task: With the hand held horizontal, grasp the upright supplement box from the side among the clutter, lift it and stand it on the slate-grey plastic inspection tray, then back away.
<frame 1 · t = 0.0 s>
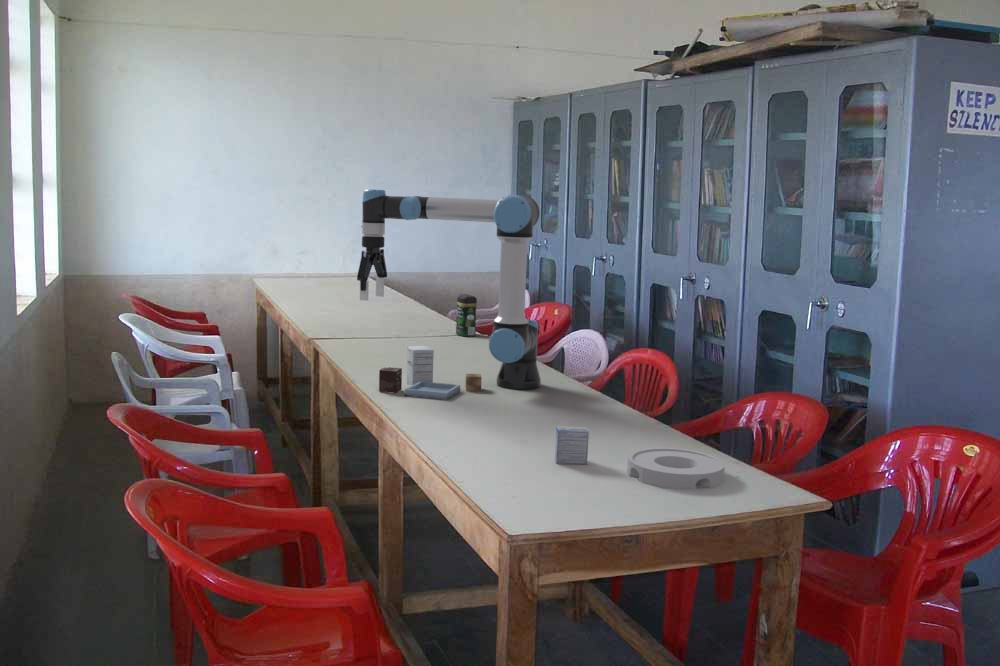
hand: (372, 298, 336), 28 cm above the table, tool pointing down, fingers open, 13 cm apart
ashtray: (674, 477, 240), on the table
box: (390, 391, 323), on the table
coffee jar: (465, 335, 447), on the table
tray: (432, 393, 321), on the table
medicine box: (570, 462, 248), on the table
supplement box: (419, 385, 335), on the table
walnut block: (473, 390, 330), on the table
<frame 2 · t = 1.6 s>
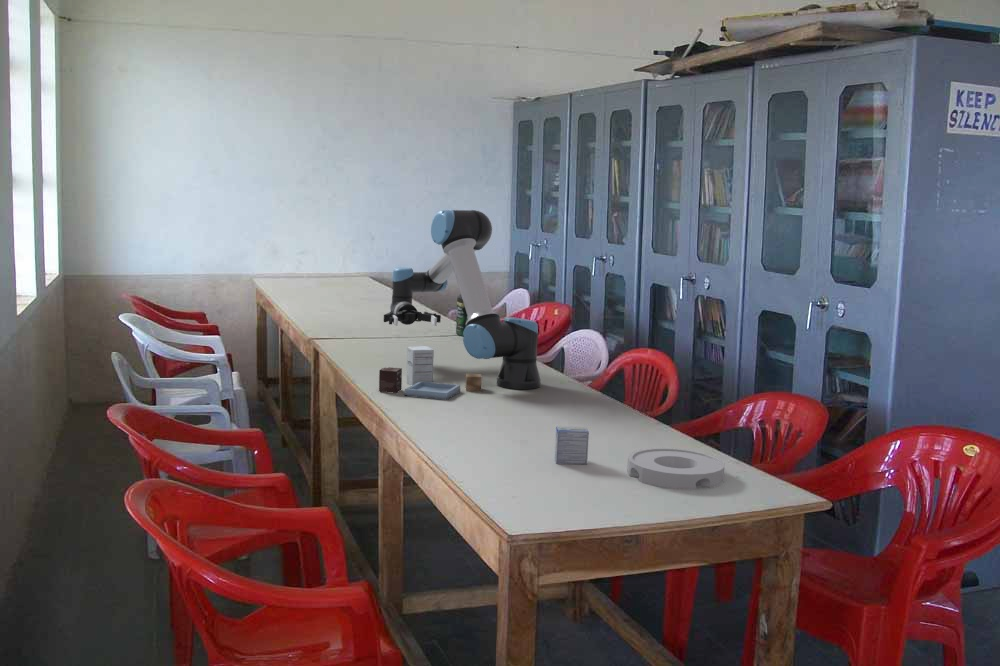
hand: (416, 321, 341), 20 cm above the table, tool horizontal, fingers open, 13 cm apart
nothing on the table moved.
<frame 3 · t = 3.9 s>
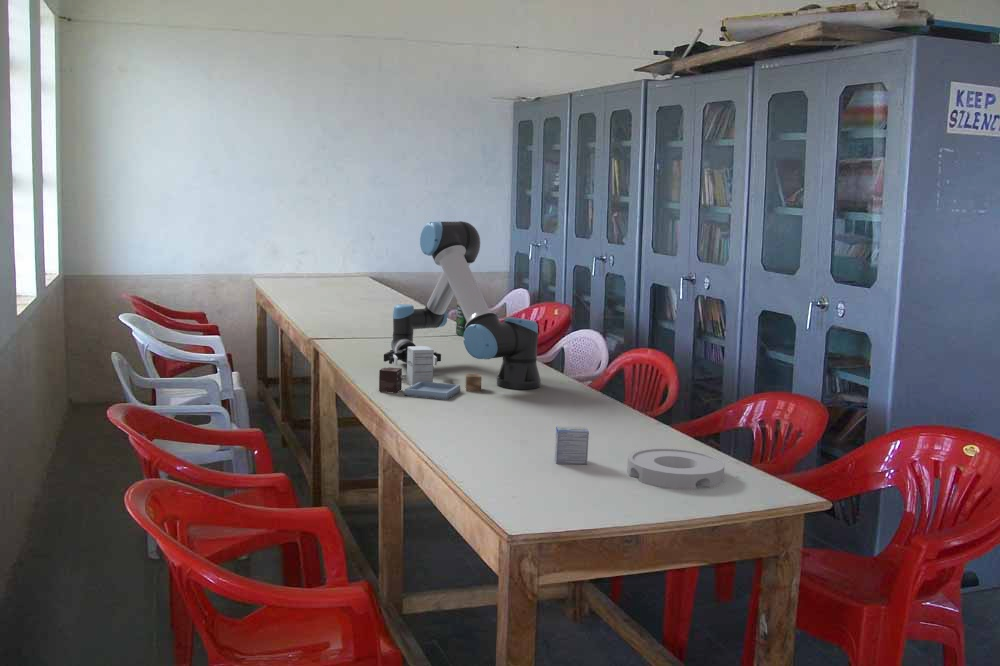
hand: (416, 361, 339), 7 cm above the table, tool horizontal, fingers open, 13 cm apart
nothing on the table moved.
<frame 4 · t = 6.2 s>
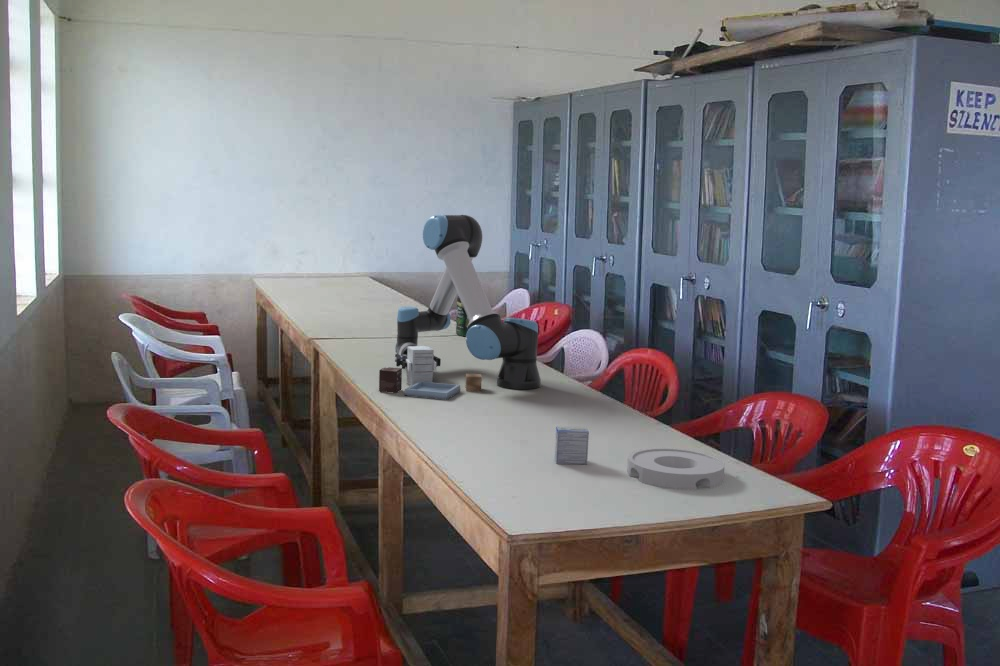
hand: (422, 366, 329), 7 cm above the table, tool horizontal, fingers closed on supplement box, 8 cm apart
supplement box: (419, 385, 335), on the table, touching gripper
everything else where it was.
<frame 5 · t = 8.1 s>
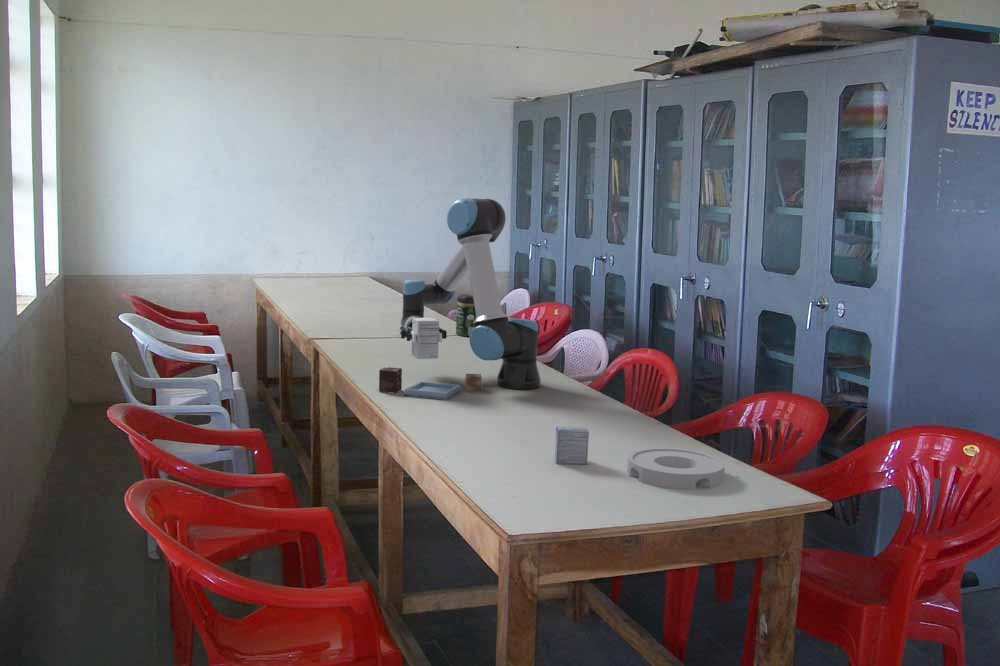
hand: (427, 338, 320), 18 cm above the table, tool horizontal, fingers closed on supplement box, 8 cm apart
supplement box: (424, 357, 326), point 11 cm above the table, touching gripper
everything else where it was.
when the fingers open (9 cm above the table, at t = 10.5 s): supplement box drops 1 cm, resting on tray.
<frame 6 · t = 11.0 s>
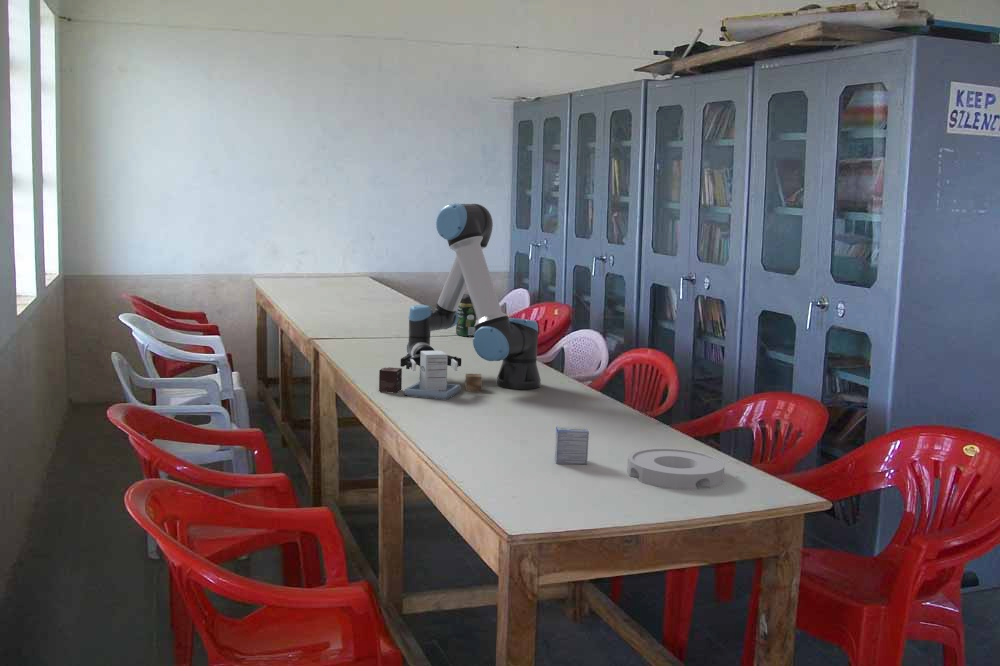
hand: (435, 366, 316), 10 cm above the table, tool horizontal, fingers open, 13 cm apart
supplement box: (432, 391, 321), point 1 cm above the table, touching tray
everything else where it was.
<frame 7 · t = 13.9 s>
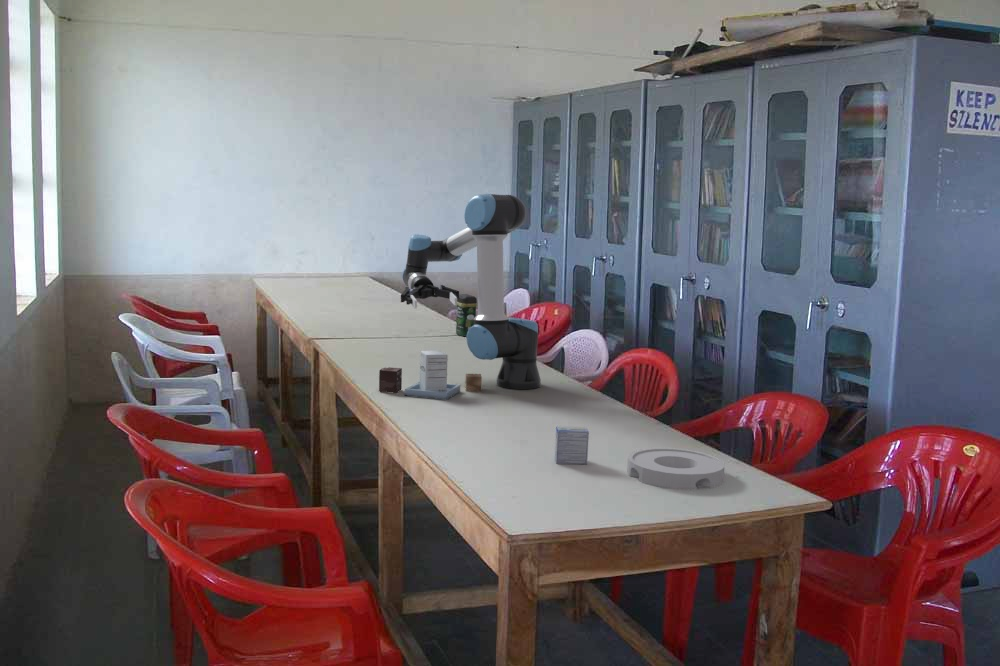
hand: (435, 303, 327), 28 cm above the table, tool horizontal, fingers open, 13 cm apart
nothing on the table moved.
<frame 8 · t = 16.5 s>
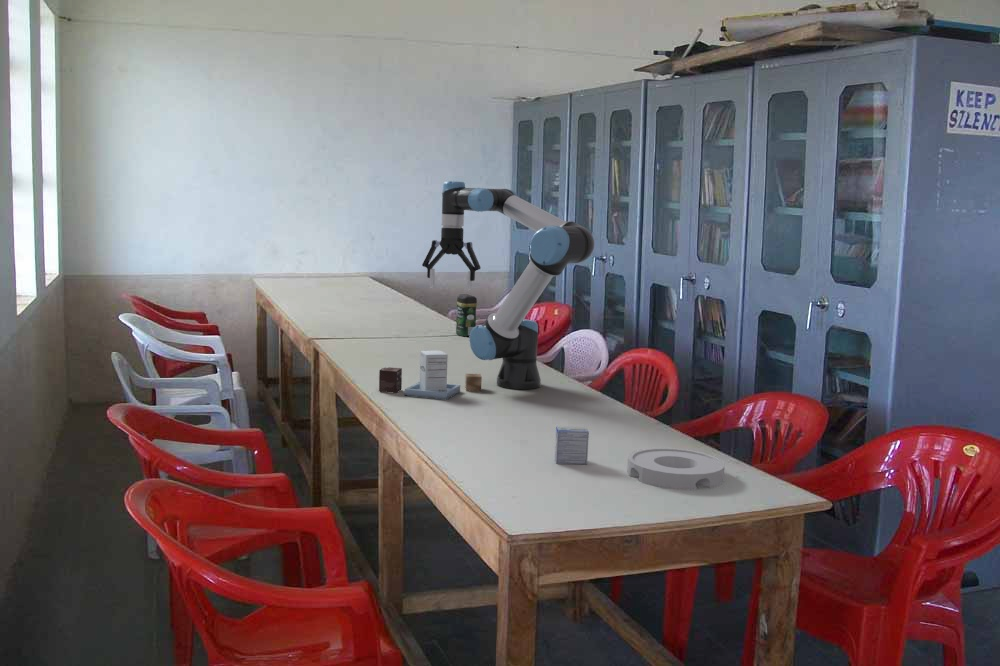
hand: (450, 289, 340), 32 cm above the table, tool pointing down, fingers open, 13 cm apart
nothing on the table moved.
at the end: supplement box inside the target area on the tray (0.0 cm from its centre), point 0.8 cm above the tray's base; supplement box tilted 0°; the gripper is holding nothing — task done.
